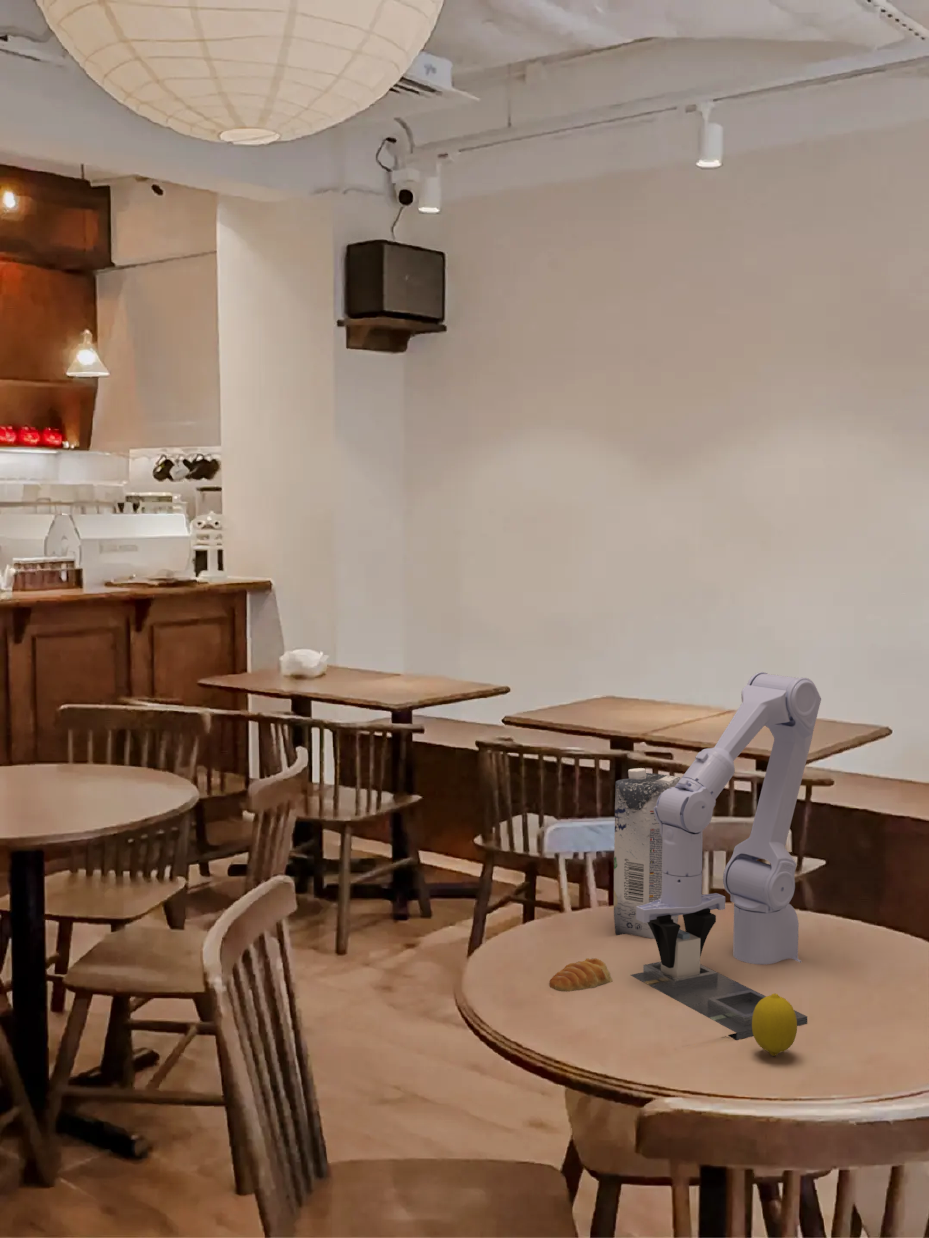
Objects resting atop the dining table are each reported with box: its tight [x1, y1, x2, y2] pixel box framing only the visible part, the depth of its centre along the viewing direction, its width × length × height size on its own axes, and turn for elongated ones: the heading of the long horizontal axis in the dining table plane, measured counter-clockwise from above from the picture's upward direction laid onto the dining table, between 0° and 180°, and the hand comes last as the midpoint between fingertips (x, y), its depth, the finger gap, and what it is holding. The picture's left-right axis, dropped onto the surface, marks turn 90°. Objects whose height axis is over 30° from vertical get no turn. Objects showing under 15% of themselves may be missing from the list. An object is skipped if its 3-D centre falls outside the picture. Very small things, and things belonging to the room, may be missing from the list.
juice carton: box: [613, 767, 682, 940], centre depth 210 cm, size 9×10×27 cm
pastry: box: [549, 957, 614, 992], centre depth 187 cm, size 9×7×4 cm
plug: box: [661, 928, 701, 979], centre depth 188 cm, size 4×4×7 cm
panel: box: [630, 961, 808, 1041], centre depth 181 cm, size 12×24×2 cm, turn 28°
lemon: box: [752, 992, 798, 1057], centre depth 163 cm, size 6×6×8 cm
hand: (680, 963), depth 188 cm, fingers closed on plug, 4 cm apart
